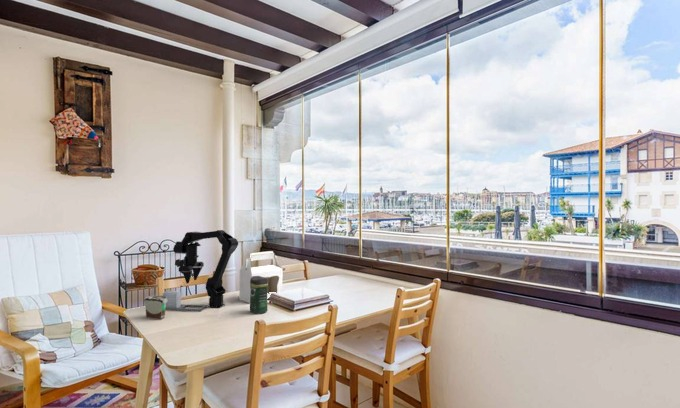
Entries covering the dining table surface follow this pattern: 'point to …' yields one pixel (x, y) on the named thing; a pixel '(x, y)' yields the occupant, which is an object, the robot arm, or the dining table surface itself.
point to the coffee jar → (258, 294)
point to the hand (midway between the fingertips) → (191, 281)
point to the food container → (155, 306)
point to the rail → (182, 308)
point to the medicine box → (173, 299)
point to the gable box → (260, 274)
